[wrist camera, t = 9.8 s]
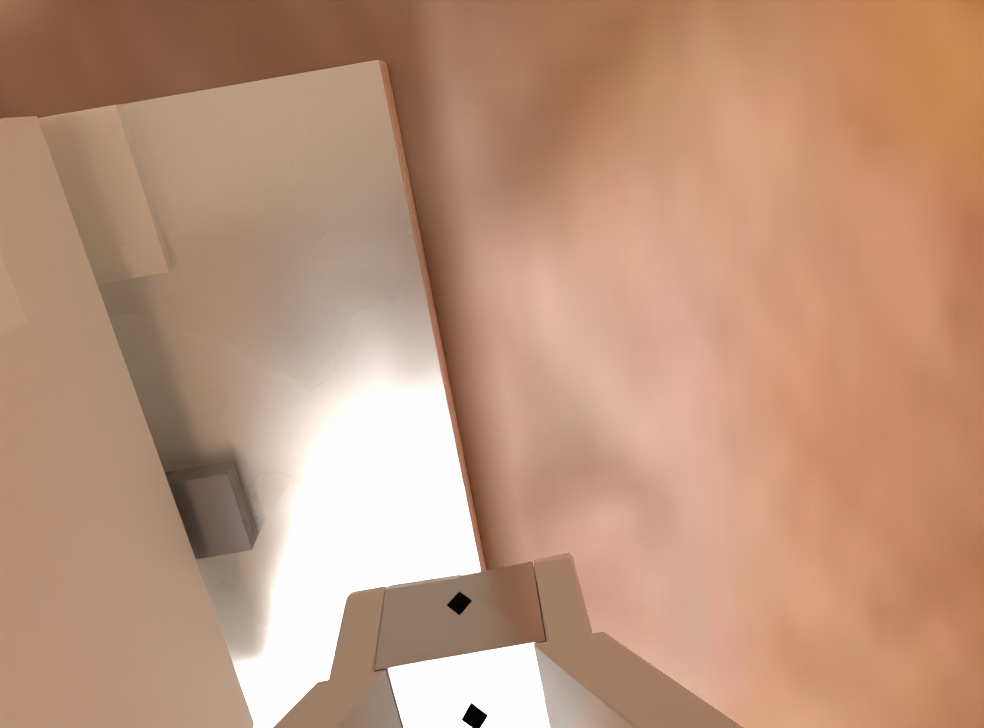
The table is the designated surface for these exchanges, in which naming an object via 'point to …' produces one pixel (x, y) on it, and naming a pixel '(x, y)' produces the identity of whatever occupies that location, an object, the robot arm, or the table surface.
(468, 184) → the table surface
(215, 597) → the gauge base
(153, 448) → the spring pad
